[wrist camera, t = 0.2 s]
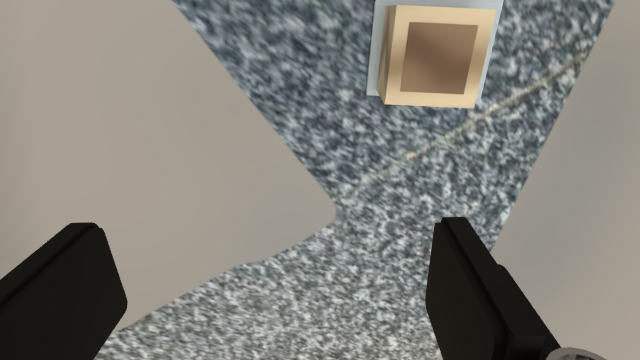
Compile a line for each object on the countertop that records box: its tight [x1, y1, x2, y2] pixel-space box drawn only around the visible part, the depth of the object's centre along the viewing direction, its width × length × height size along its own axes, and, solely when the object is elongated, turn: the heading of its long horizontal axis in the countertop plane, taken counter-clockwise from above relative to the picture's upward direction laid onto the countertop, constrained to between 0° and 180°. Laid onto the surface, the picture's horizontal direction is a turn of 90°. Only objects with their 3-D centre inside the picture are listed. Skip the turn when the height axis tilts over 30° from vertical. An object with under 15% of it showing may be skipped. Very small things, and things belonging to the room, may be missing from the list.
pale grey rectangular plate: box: [366, 0, 504, 101], centre depth 35 cm, size 15×12×1 cm
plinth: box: [377, 5, 496, 108], centre depth 33 cm, size 8×8×6 cm
